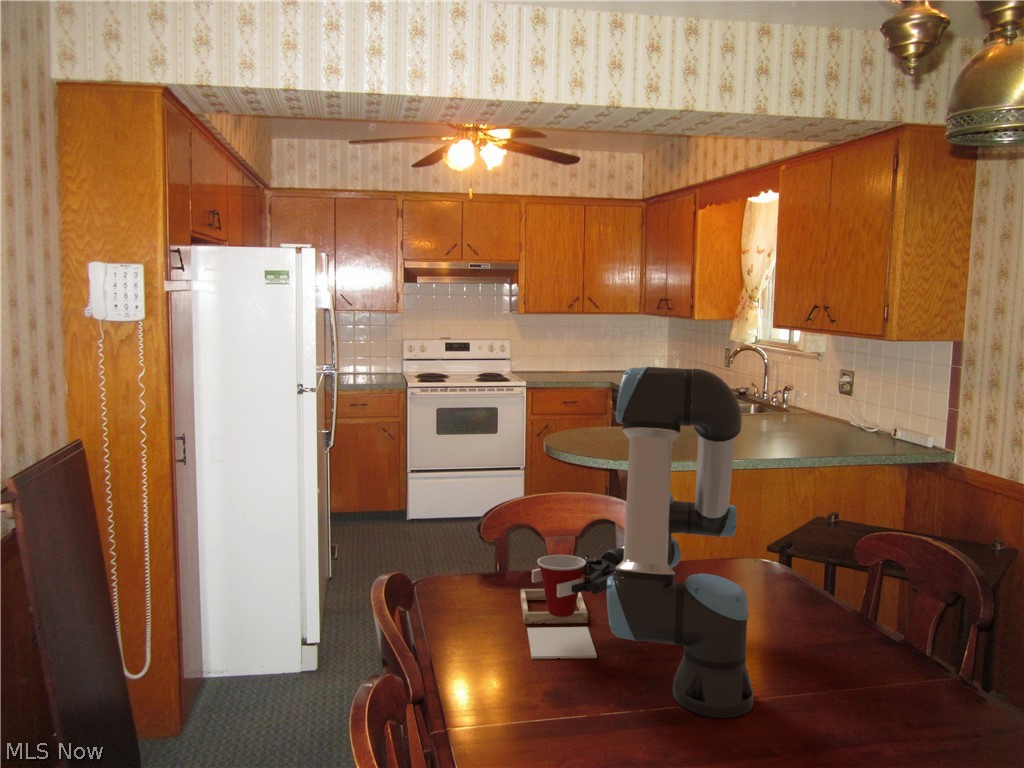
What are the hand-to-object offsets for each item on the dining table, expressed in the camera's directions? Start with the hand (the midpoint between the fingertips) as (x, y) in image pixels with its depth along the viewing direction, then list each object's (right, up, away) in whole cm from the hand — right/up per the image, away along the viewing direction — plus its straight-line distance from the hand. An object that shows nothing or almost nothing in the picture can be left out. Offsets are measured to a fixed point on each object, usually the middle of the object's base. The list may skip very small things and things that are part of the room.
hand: (544, 583), depth 170 cm
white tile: (+4, -14, +4) cm, 15 cm away
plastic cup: (+4, -7, +4) cm, 9 cm away
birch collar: (+3, -12, +22) cm, 25 cm away
